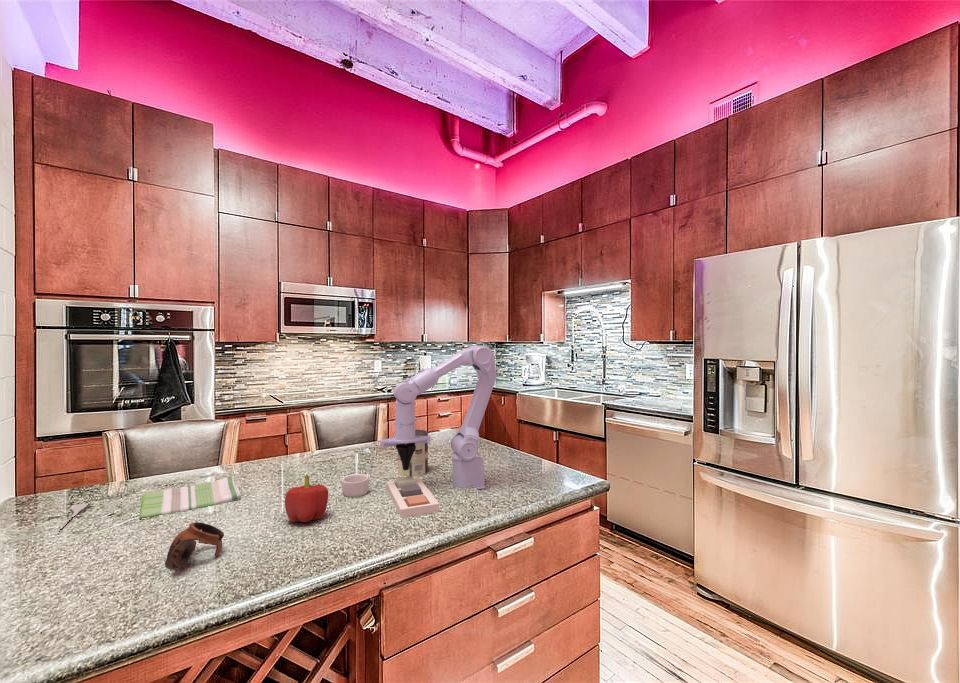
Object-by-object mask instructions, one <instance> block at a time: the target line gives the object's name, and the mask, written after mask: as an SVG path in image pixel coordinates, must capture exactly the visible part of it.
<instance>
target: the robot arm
mask: <svg viewBox="0 0 960 683" xmlns="http://www.w3.org/2000/svg"><path fill="white" fill-rule="evenodd" d="M461 366H472V367H473V369H474V370H475V372H476V374H477V376H478V379H477V383H476V385H475V388H474V391H473V394H472V397H471V400H470V401H469V405H468V408H467V411H466V414H465V417H464V420H463V423H462V424H461V426H460V427H459V428H458V429H457V432H456V434H455V435H454V436H452V438H451V441H450V448H451V450H452V451H453V452H454V453H453V455H452V486H453V487H455V488H459V489H468V488H469V489H470V488H473V487H474V488H475V489H476V490H482V489H483V490H484V489H486V486H485V463H484V460H483V458H482V457H481V456H477V455H478V453H479V441H480V433H479V429H480V427H481V425H482V421H483V419H484V416H485V412H486V409H487V406H488V404H489V401H490V397H491V395H492V391H493V389H494V386H495V382H496V380H497V377H498V376H497V374H498V373H497V369H496V368H497V367H496V356H495V354H494V352H493V351H492V349H491V348H490V347H489V346H487V345H477V344H472V345H470V346H467V347H466V348H463V349H462V350H460V351H458V352H457V353H454V355H452V356H451V357H449V358H448V359H446V360H444V361H443V362H442V363H440V364H439V365H436V367H434V368H430V367H426V368H424V367H423V368H420V369H419V372H418V373H416V374H415V375H413V376H411V377H407V378H405V381H402V382H398V384H396V386H395V388H394V389H393V390H394V391H393V396H394V398H395V408H394V409H395V410H394V412H395V413H394V414H395V416H394V417H395V418H394V419H395V421H394V422H395V427H394V428H395V437H390V438H383V439H379V447H380V448H381V449H384V448H386V447H395V448H396V451H397V454H398V453H399V455H400V458H401V462H402V467H403V470H409V465H410V461H411V458H412V455H413V453H414V451H415V449H416V446H415V444H419V443H428V444H430V443H431V436H430V435H429V434H428V435H425V436H415V430H416V407H415V400H416V399H417V396H419V395H421V394H423V393H425V392H427V391H428V390H430V389H431V388H433V387H434V386H437V384H438V383H439V382H438V381H439V379H440V378H441V377H443V376H445V375H447V374H448V373H450V372H452V371H453V370H455V369H457V368H459V367H461Z"/></svg>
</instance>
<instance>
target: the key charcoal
mask: <svg viewBox="0 0 960 683" xmlns="http://www.w3.org/2000/svg"><path fill="white" fill-rule="evenodd" d="M415 495H421V488H420V487H419V485H418V484H411V485H403V486H401V496H402V497H409V496H415Z"/></svg>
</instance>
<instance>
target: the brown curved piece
mask: <svg viewBox="0 0 960 683" xmlns="http://www.w3.org/2000/svg"><path fill="white" fill-rule="evenodd" d="M224 537H225V533H224V532H223V531H222V530H221V529H219V528H217V527H216V526H213V525H211V524H208V523H204V522H196V521H195V522H192V523H190V524H189V526H188V528H185V529H184V530H181V531H180V532H178V534H177V535H176V536H175V537H174V539H173V540H172V542H171V544H170V546H169V549H168V551H167V556H166V559H165V562H164V564H165V566H166V567H167V568H168V569H170V570H174V568H175V566H176V567H179V568H180V567H181V568H182V567H185V566H188V563H189V562H190V561H189V560H190V558H191V556H192V554H193V553H194V551H195V549H196V547H197V541H198V543H199V544H205V545H211V546H215V548H216V549H215V551H214V555H213V556H214V557H215V558H217V557H219V556H220V553H221V551H222V549H223V540H222V539H223V538H224ZM218 555H219V556H218Z"/></svg>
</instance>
